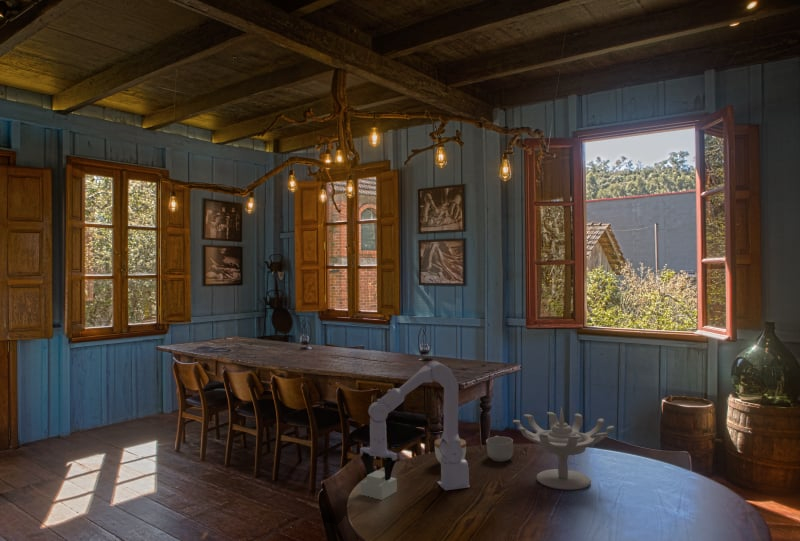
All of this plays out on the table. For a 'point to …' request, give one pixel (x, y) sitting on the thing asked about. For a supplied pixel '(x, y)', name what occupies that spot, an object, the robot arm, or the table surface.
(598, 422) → the candelabra
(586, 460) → the table surface
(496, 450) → the teacup
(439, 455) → the lidded bowl
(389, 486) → the white block
